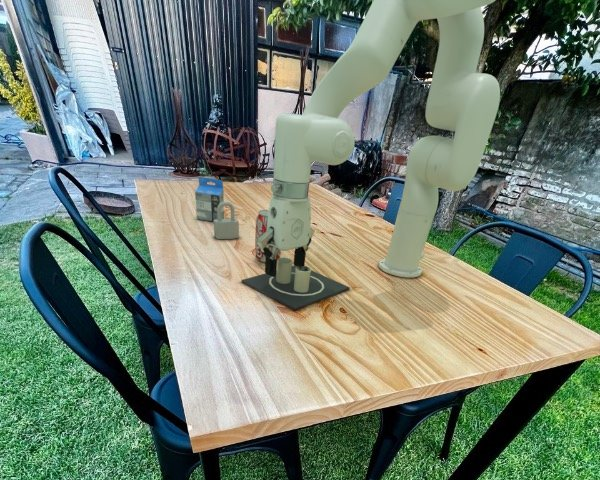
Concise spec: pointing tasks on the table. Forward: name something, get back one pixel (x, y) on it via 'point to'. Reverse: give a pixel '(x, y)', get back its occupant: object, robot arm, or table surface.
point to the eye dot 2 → (302, 279)
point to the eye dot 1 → (284, 270)
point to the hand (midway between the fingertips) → (285, 270)
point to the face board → (288, 296)
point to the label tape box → (209, 199)
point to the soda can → (260, 230)
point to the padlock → (226, 224)
